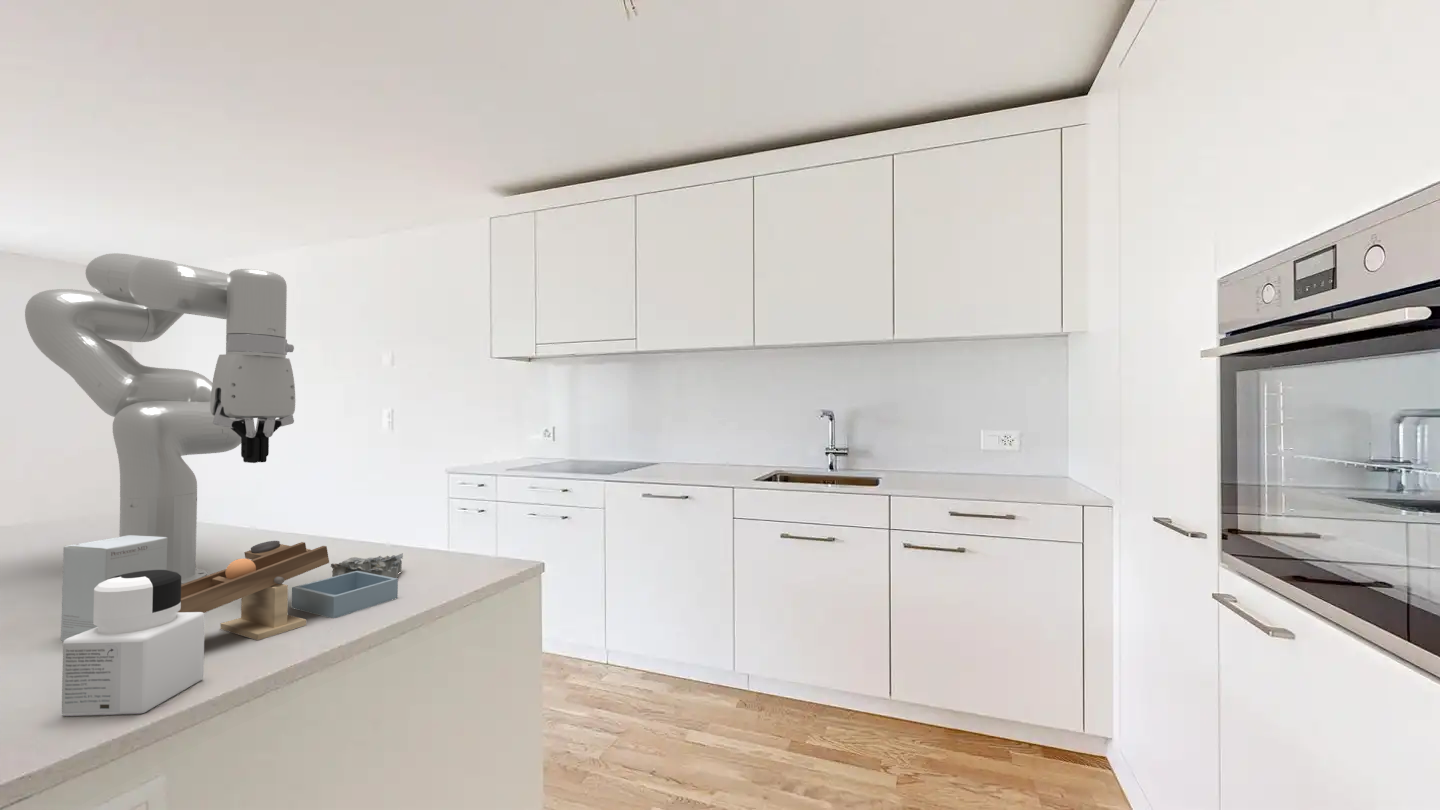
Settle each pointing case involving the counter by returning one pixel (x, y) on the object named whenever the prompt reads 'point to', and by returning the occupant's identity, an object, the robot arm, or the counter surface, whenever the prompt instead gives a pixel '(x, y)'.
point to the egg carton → (370, 566)
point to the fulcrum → (264, 614)
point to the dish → (344, 593)
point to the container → (133, 647)
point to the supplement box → (102, 573)
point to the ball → (239, 568)
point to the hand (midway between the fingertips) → (254, 461)
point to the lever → (252, 575)
